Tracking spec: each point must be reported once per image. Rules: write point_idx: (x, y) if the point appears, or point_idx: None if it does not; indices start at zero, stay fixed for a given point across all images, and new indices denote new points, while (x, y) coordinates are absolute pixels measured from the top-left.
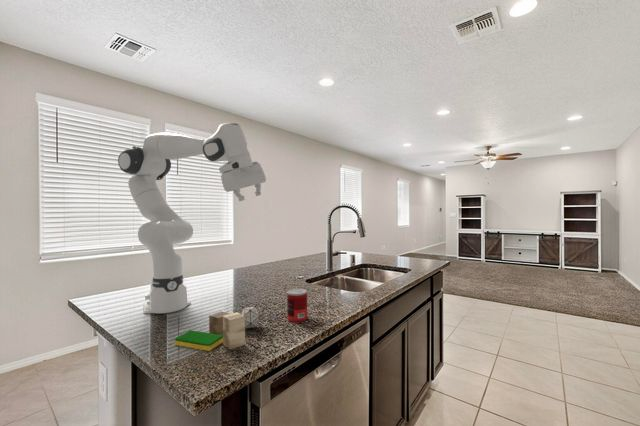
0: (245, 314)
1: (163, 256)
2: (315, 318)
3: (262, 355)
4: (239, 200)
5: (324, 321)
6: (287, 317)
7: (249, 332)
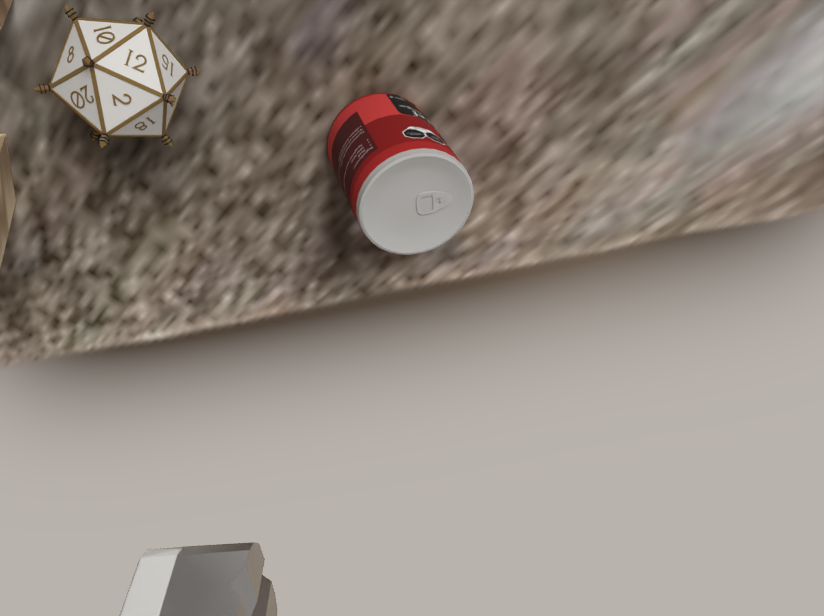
0: (78, 114)
1: None
2: None
3: (36, 318)
4: (146, 572)
5: None
6: (338, 117)
7: None
